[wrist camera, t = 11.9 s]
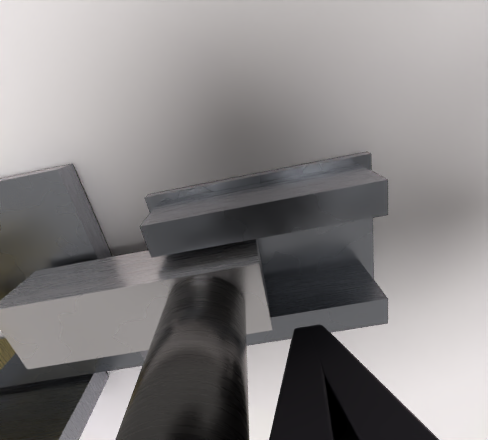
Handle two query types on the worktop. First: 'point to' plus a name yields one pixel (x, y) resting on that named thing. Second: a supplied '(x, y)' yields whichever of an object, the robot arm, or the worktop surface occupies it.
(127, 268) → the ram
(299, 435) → the robot arm
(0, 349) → the block
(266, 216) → the frame
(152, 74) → the worktop surface
